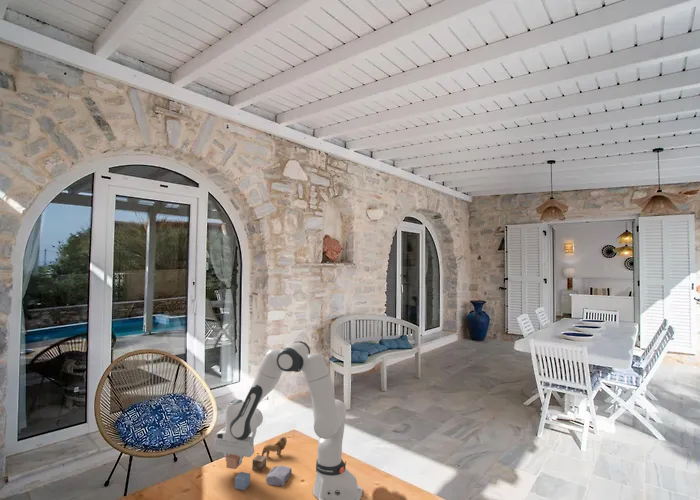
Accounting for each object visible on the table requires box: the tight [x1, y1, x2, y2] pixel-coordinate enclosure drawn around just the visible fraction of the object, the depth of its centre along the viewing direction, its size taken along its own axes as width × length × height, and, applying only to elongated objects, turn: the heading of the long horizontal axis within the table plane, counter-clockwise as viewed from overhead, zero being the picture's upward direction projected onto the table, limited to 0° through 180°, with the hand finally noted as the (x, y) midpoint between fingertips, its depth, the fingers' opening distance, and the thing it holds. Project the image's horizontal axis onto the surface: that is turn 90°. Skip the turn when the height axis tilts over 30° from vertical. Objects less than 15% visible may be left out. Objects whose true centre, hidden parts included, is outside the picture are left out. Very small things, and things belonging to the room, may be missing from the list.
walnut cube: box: [251, 454, 267, 472], centre depth 197 cm, size 5×5×5 cm
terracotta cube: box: [225, 454, 242, 470], centre depth 192 cm, size 5×5×5 cm
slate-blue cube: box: [234, 471, 251, 491], centre depth 181 cm, size 5×5×5 cm
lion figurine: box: [261, 436, 288, 460], centre depth 208 cm, size 15×5×9 cm, turn 123°
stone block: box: [265, 465, 292, 487], centre depth 189 cm, size 12×5×10 cm
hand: (233, 462), depth 192 cm, fingers closed on terracotta cube, 5 cm apart
